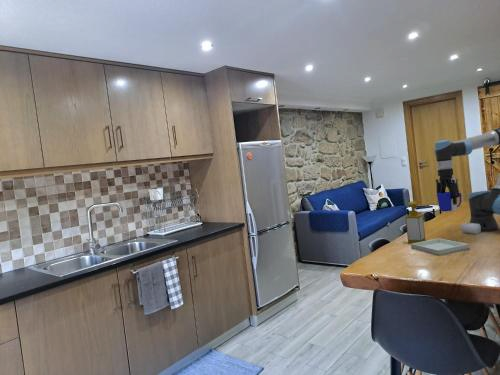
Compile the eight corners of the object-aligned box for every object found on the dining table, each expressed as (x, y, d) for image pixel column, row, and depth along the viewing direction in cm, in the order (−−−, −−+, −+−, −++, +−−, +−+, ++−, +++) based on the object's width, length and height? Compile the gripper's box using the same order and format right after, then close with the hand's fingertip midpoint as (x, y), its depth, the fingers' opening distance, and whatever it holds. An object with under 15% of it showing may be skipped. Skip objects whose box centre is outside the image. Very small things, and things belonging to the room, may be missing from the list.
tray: (439, 242, 200) (439, 238, 200) (469, 249, 181) (468, 244, 180) (411, 248, 196) (410, 243, 196) (438, 255, 177) (437, 250, 177)
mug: (465, 210, 195) (463, 191, 194) (440, 212, 197) (438, 194, 197) (460, 208, 203) (458, 190, 202) (436, 210, 205) (434, 193, 205)
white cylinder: (473, 224, 207) (460, 223, 215) (474, 235, 208) (461, 233, 215) (480, 222, 210) (467, 221, 217) (481, 233, 210) (468, 231, 217)
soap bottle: (428, 239, 212) (424, 199, 211) (421, 244, 203) (416, 202, 202) (415, 238, 217) (411, 199, 216) (408, 243, 208) (403, 202, 207)
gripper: (426, 170, 209) (430, 209, 210) (452, 168, 189) (457, 212, 190) (438, 168, 210) (442, 207, 211) (465, 167, 191) (469, 210, 192)
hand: (449, 209), depth 201 cm, fingers closed on mug, 7 cm apart
